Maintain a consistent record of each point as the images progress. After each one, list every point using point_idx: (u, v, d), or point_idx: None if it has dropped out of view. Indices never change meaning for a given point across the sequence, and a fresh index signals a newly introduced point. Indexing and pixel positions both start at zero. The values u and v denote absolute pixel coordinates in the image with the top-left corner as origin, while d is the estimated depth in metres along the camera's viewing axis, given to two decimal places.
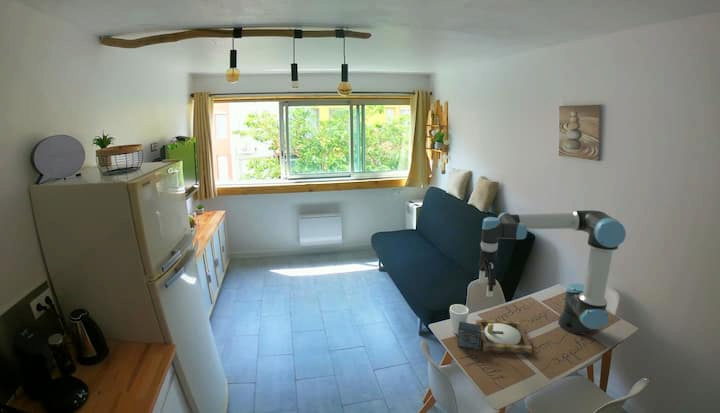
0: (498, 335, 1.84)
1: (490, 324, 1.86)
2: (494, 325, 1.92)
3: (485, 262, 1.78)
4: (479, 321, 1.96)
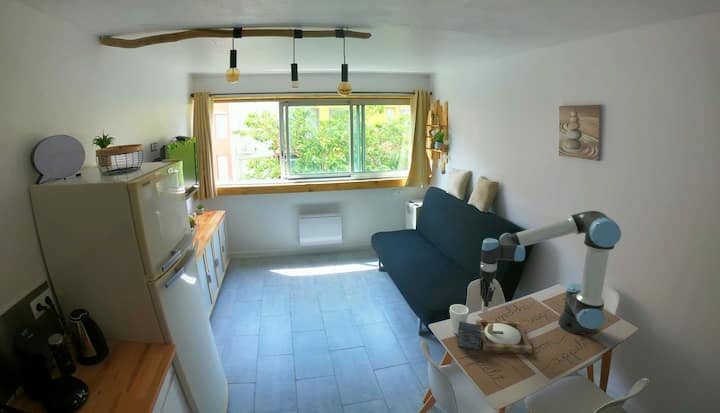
0: (498, 335, 1.84)
1: (490, 324, 1.86)
2: (494, 325, 1.92)
3: (485, 282, 1.84)
4: (479, 321, 1.96)
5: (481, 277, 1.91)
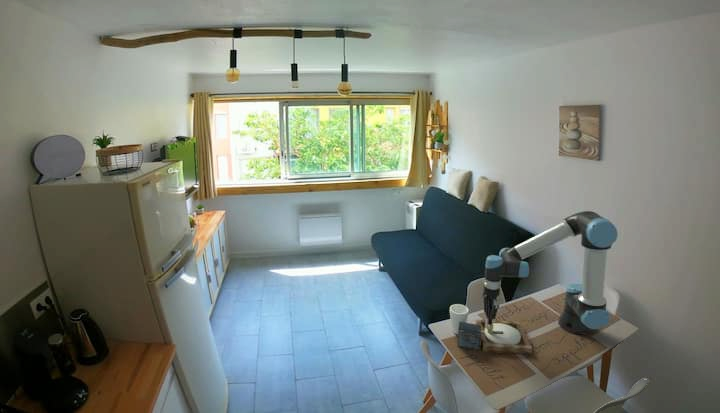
0: (499, 335, 1.84)
1: (490, 324, 1.86)
2: (494, 325, 1.92)
3: (489, 300, 1.81)
4: (479, 321, 1.96)
5: (485, 294, 1.88)
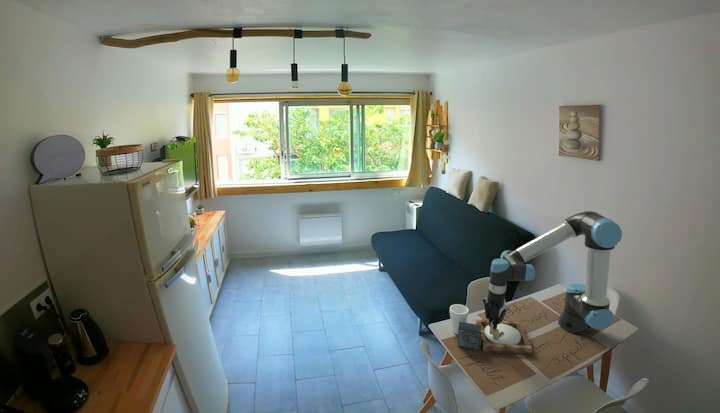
0: (503, 336, 1.83)
1: (495, 329, 1.81)
2: (488, 329, 1.89)
3: (497, 305, 1.76)
4: (479, 321, 1.96)
5: (485, 299, 1.82)
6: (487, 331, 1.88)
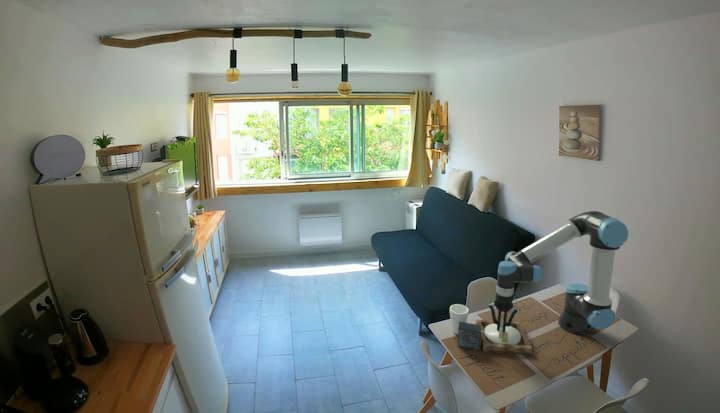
0: (507, 336, 1.84)
1: (505, 332, 1.79)
2: (490, 335, 1.85)
3: (507, 308, 1.74)
4: (479, 321, 1.96)
5: (491, 305, 1.78)
6: (492, 338, 1.83)
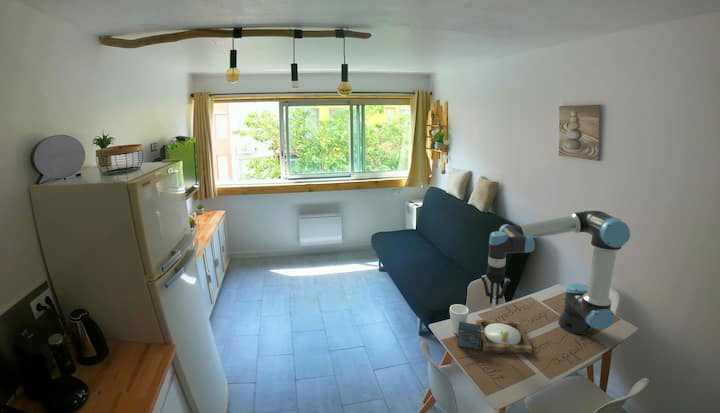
0: (507, 336, 1.84)
1: (505, 332, 1.79)
2: (490, 335, 1.85)
3: (499, 279, 1.72)
4: (479, 321, 1.96)
5: (483, 277, 1.76)
6: (492, 338, 1.83)
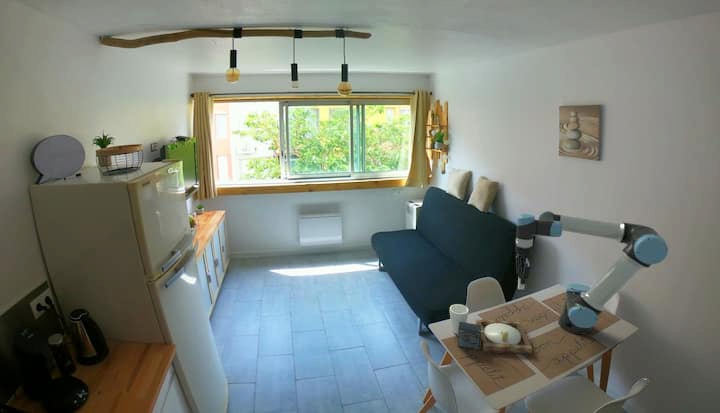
0: (507, 336, 1.84)
1: (505, 332, 1.79)
2: (490, 335, 1.85)
3: (521, 259, 1.82)
4: (479, 321, 1.96)
5: (517, 254, 1.89)
6: (492, 338, 1.83)
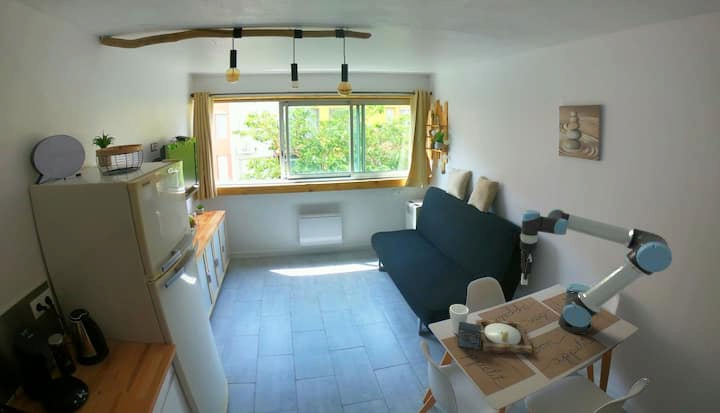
0: (507, 336, 1.84)
1: (505, 332, 1.79)
2: (490, 335, 1.85)
3: (524, 254, 1.85)
4: (479, 321, 1.96)
5: (523, 250, 1.91)
6: (492, 338, 1.83)
